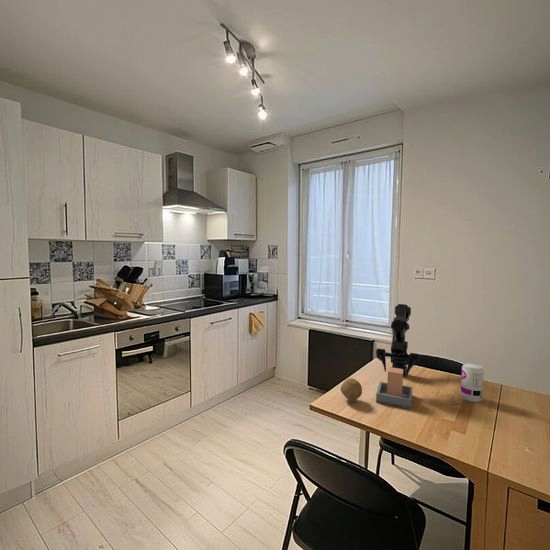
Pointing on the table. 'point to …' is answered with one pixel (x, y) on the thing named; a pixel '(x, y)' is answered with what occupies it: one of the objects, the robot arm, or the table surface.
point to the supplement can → (472, 382)
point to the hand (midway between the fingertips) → (395, 373)
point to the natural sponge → (351, 389)
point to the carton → (395, 382)
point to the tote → (394, 400)
